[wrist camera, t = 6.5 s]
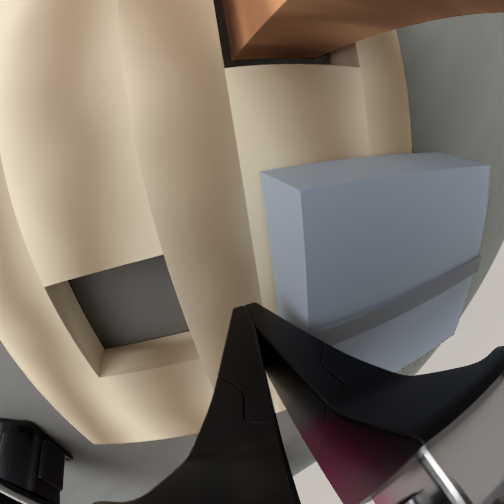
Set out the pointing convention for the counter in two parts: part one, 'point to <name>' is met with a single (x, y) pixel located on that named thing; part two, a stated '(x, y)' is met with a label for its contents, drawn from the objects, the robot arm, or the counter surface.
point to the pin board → (156, 188)
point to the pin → (328, 23)
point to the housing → (376, 249)
